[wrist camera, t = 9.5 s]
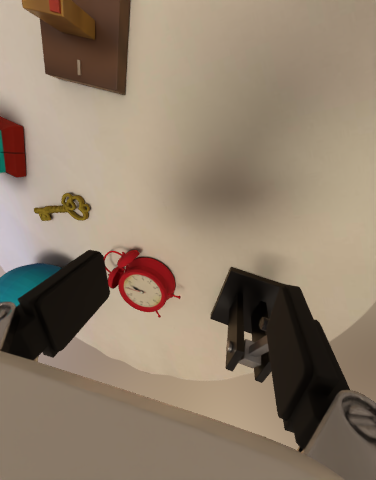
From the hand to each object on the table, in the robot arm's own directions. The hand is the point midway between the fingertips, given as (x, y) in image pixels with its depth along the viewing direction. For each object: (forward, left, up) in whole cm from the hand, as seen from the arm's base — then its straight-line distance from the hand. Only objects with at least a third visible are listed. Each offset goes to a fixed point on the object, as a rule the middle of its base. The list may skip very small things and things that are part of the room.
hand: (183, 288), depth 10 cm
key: (+10, -27, -21) cm, 35 cm away
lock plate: (-14, -21, -20) cm, 32 cm away
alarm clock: (+19, -10, -21) cm, 29 cm away
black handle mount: (+17, +10, -20) cm, 28 cm away
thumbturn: (-14, -21, -18) cm, 31 cm away
